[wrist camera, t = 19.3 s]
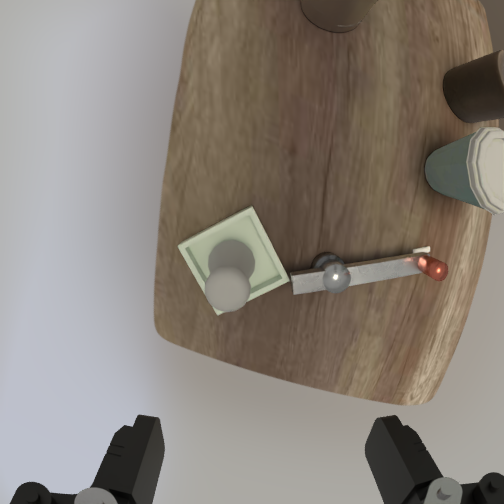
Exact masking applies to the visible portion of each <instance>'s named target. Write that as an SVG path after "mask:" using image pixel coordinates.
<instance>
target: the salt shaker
mask: <svg viewBox="0 0 504 504" xmlns="http://www.w3.org/2000/svg"><path fill="white" fill-rule="evenodd" d="M208 268H209V271H210V275H209V276H208V278H207V280H206V281H205V295H206V297H207V300H208V302H209V303H210V304H211V305H212V306H213V307H214V308H215V309H217V310H220V311H223V312H231V311H236V310H238V309H240V308H241V307H243V306H244V305H245V303H246V302H247V300H248V299H249V297H250V290H251V284H250V282H249V279H250V277H251V275H252V274H253V272H254V269H255V258H254V256H253V253H252V251H251V250H250V249H249V248H248V247H247V246H246V245H245V244H244V243H242V242H239V241H236V240H228V241H223V242H221V243H220V244H218V245H217V246H215V247H214V248H213V250H212V251H211V253H210V255H209V257H208Z"/></svg>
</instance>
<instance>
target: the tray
mask: <svg viewBox="0 0 504 504" xmlns="http://www.w3.org/2000/svg"><path fill="white" fill-rule="evenodd" d="M228 240H236V241H239V242H242V243H244V244H245V245H246V246H247V247H248V248H249V249H250V250H251V251H252V253H253V256H254V258H255V269H254V272H253V274H252V275H251V277H250V279H249V282H250V284H251V290H250V297H249V299H248V300H247V301H249V300H251V299H253V298H256V297H258V296H260V295H262V294H264V293H266V292H268V291H270V290H272V289H274V288H276V287H278V286H280V285H282V284H284V283H286V282H288V281H290V280H289V278H288V276H287V273H286V271H285V269H284V267H283V265H282V263H281V261H280V259H279V257H278V255H277V254H276V252H275V250H274V248H273V246H272V244H271V242H270V240H269V238H268V236H267V234H266V232H265V230H264V228H263V226H262V224H261V222H260V220H259V218H258V216H257V214H256V212H255V210H254V208H253V206H252V205H251V206H249V207H247V208H245V209H243V210H241V211H239V212H237V213H235V214H233V215H231V216H230V217H228V218H226V219H224V220H222V221H220V222H218V223H216V224H214V225H212V226H210V227H209V228H207V229H205V230H203V231H201V232H199V233H197V234H195V235H193V236H192V237H190V238H188V239H186V240H184V241H182V242H181V243H180V244H179V245H178V248H179V250H180V252H181V253H182V255H183V257H184V259H185V261H186V262H187V264H188V266H189V268H190V269H191V271H192V273H193V275H194V276H195V278H196V280H197V282H198V283H199V285H200V287H201V288H202V290H203V292H204V293H205V281H206V280H207V278H208V276H209V275H210V271H209V268H208V257H209V255H210V253H211V251H212V250H213V248H214V247H215V246H217V245H218V244H220V243H221V242H223V241H228ZM212 307H213V306H212ZM213 309H214V310H215V312H216V314H217V315H220V314H222V313H224V312H223V311H220V310H217V309H215V308H214V307H213Z"/></svg>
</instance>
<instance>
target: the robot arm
mask: <svg viewBox="0 0 504 504" xmlns="http://www.w3.org/2000/svg"><path fill="white" fill-rule="evenodd" d="M377 1H378V0H302V1H301V7H302V10H303V13H304V14H305V16H306V17H307V18H308V19H309V20H310V21H311V22H312V23H314V24H315V25H316V26H318V27H320V28H322V29H325V30H328V31H332V32H348V31H350V30H353V29H354V28H355V27H357V25H358V24H359V23H360V22H361V21H362V19H363V18H364V17H365V15H366V14H367V13H368V12H369V11H370V9H371V8H372V7H373V5H374V4H375V3H376V2H377ZM164 451H165V446H164V439H163V434H162V429H161V424H160V419H159V418H158V417H151V416H145V415H138V416H137V418H136V420H135V423H134V425H133V427H131V426H126V425H124V426H123V427H122V428H120V430H118V431H117V432H116V433H115V434H114V436H113V438H112V441H111V443H110V446H109V447H108V450H107V453H106V454H105V456H104V459H103V461H102V463H101V465H100V468H99V470H98V472H97V475H96V477H95V479H94V482H93V484H92V485H91V487H90V488H87V489H84V490H82V491H81V492H79V493H78V494H73V495H72V494H58V493H50V492H49V491H48V489H47V488H46V487H45V486H43V485H42V484H40V483H36V482H27V483H24V484H22V485H21V486H19V487H18V488H17V490H16V492H15V494H14V496H13V498H12V500H11V502H10V504H152V502H153V498H154V494H155V490H156V486H157V482H158V478H159V474H160V470H161V466H162V462H163V458H164ZM365 455H366V458H367V461H368V463H369V466H370V468H371V471H372V473H373V476H374V478H375V481H376V484H377V486H378V489H379V491H380V494H381V496H382V499H383V502H384V504H504V476H503V475H501V474H499V473H494V472H493V473H488V474H486V475H485V476H483V478H482V479H481V480H480V481H479V482H478V483H470V484H459V483H458V482H457V481H455V480H454V479H452V478H447V477H443V475H442V474H441V472H440V471H439V469H438V467H437V466H436V464H435V462H434V460H433V459H432V457H431V455H430V454H429V452H428V451H427V450H426V447H425V445H424V444H423V443H422V440H421V439H420V437H419V435H418V434H417V433H416V431H414V430H413V429H412V428H410V427H409V426H408V425H405V426H403V425H402V423H401V421H400V420H399V418H398V417H397V416H396V415H392V416H386V417H380V418H377V419H376V420H375V422H374V424H373V427H372V429H371V432H370V434H369V437H368V439H367V441H366V444H365Z"/></svg>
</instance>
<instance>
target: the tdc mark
mask: <svg viewBox="0 0 504 504" xmlns="http://www.w3.org/2000/svg"><path fill="white" fill-rule="evenodd" d="M418 252H426V253H427V252H430V247H429V246H426V247H421V248H416V249H413V253H418Z"/></svg>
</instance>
